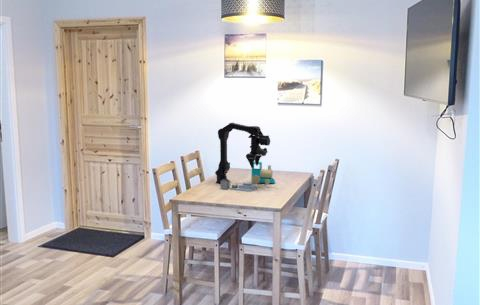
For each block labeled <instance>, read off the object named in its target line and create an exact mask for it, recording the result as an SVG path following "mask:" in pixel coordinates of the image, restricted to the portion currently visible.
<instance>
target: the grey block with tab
mask: <svg viewBox="0 0 480 305" xmlns="http://www.w3.org/2000/svg"><path fill="white" fill-rule="evenodd" d="M230 184H231V182H230V179H228V178H227V179H222V180H221V183H220V190H225V191H228V190H230V188H231V185H230Z"/></svg>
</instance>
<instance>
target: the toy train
mask: <svg viewBox="0 0 480 305" xmlns="http://www.w3.org/2000/svg"><path fill="white" fill-rule="evenodd" d="M255 165H256V163H255V161H254V165H253V168H251V179H250V180H251V183H252V184H256V185H257V184H260V183H263V184H265V185H269V184H275V183H276V180H275V179H274V177H273V174H274V173H273V169H272V165H271V164H267V168H264V169H263V161H259V163H258V165H259V168H255Z"/></svg>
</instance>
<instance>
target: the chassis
mask: <svg viewBox="0 0 480 305" xmlns="http://www.w3.org/2000/svg"><path fill="white" fill-rule="evenodd" d="M256 189H257V184H254V183H247V182H243V183H242V184H231V186H230V189H229V190H233V191H239V192H240V191H241V192H248V193H249V192H250V193H251V192H252V191H255V190H256Z"/></svg>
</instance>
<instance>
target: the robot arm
mask: <svg viewBox="0 0 480 305" xmlns="http://www.w3.org/2000/svg"><path fill="white" fill-rule="evenodd" d="M233 130H237V131H242V132H245V133H247V134H249V136H248V137H247V138H249V139H250V146H249V148H250V152H249V153H246V155H245V158H246V159H247V161H248V163H249V165H250V168H251V169H252V168H253V165H254V166H257V167H258V165H259V164H258V163H259V162H260V160H261V158H262V157H266V156H267V154H268V148H267V147H264V148H262V147H261V146H270V144H271V138H270V135H264V134H263V132H262V130H261V127H260V126H258V125H245V124H244V125H243V124H241V123H235V122H229V123H228V124H227V125H226V126H224V127H222V128H219V129H218V130H217V137H218V139H219V142H220V143H219V148H220V150H219V152H220V161H219V163H218V168H217V169H216V171H215V172H214V173H215V175H216V182H215V184H221V180H222V179H228V176H227V174H228V172H229V171H230V168H231V162H229V161H228V139H229V138H230V137H229V136H230V135H229V134H230V132H231V131H233ZM254 162H255V163H256V164H254Z"/></svg>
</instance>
